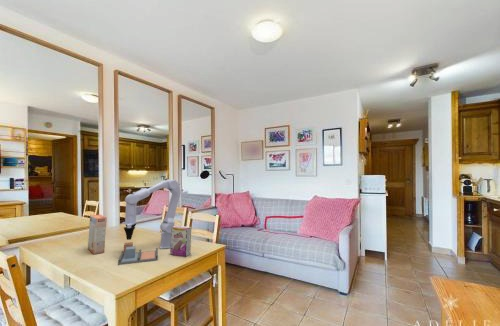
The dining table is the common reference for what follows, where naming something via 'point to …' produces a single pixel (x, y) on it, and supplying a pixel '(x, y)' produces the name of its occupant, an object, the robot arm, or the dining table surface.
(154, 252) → the slot rack
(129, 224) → the robot arm
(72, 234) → the dining table surface
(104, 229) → the cracker box
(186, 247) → the candy bar box
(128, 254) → the slate-blue block
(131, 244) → the terracotta block
